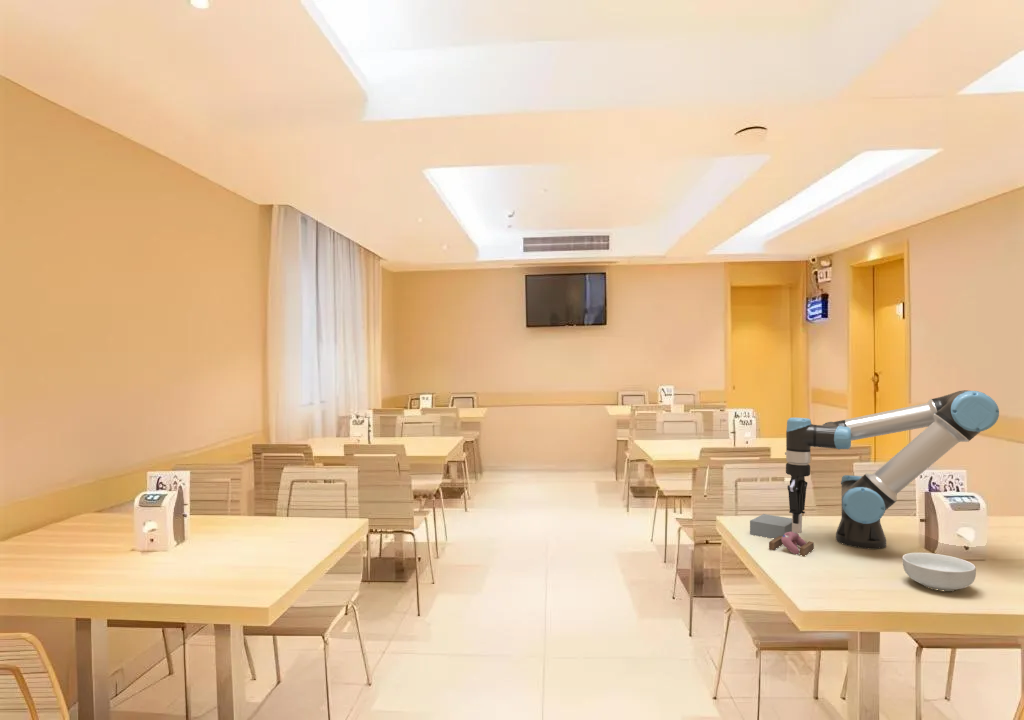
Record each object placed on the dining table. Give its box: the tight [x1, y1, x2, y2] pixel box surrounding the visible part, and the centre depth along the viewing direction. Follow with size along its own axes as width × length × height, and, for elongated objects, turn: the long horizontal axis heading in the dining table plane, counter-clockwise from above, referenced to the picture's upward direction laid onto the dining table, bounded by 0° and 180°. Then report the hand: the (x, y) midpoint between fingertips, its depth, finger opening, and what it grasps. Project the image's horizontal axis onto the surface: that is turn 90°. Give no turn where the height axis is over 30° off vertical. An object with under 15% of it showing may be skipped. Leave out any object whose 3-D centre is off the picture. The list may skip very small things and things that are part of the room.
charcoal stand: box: [749, 513, 792, 539], centre depth 220 cm, size 12×14×5 cm
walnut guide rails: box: [768, 536, 815, 557], centre depth 201 cm, size 11×10×2 cm
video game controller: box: [781, 532, 807, 555], centre depth 201 cm, size 10×5×7 cm, turn 136°
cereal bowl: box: [901, 552, 977, 592], centre depth 168 cm, size 17×17×7 cm
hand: (796, 532), depth 207 cm, fingers closed
